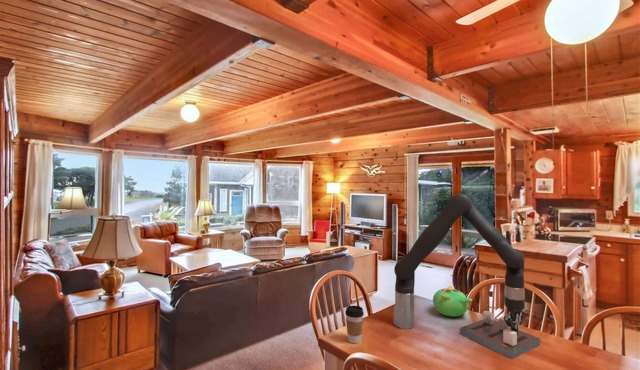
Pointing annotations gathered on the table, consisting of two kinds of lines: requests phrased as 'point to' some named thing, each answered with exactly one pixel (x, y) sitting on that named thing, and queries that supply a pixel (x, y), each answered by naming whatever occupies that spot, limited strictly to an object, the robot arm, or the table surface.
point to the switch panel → (498, 336)
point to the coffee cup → (354, 323)
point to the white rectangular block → (510, 337)
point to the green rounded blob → (451, 302)
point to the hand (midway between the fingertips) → (514, 335)
